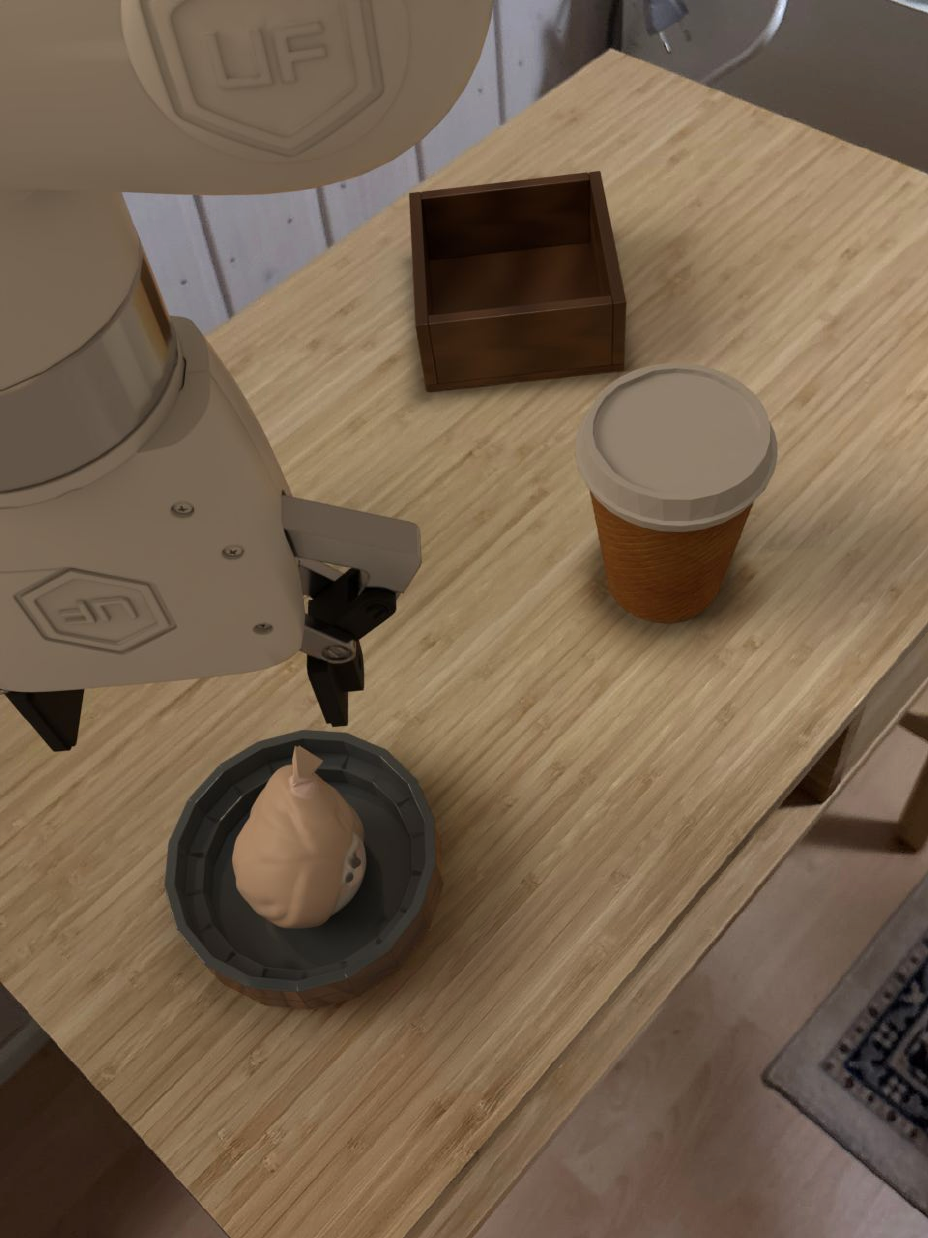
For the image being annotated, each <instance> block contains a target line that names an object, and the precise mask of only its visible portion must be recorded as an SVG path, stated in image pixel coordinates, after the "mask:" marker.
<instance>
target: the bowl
mask: <svg viewBox="0 0 928 1238" xmlns="http://www.w3.org/2000/svg"><path fill="white" fill-rule="evenodd" d="M295 746H297V747H298V746H301V747H302V748H304V749H305V750H307V751H308V752H310V753H312V754H313V755H315V756H316V757H318V758H320V759H321V760H323V762H322V763H321V765H320V766H319V767H318V769H317V770H316V771H315V773H316V774H317V775H318V776H319V777H320V778H321V779H322V780H323V781H325V782H326V783H328V784H329V785H331V786H332V787H333V788H335V789H336V790H337V791H338V792H339V794H340V795H341V796H342V797H343V798H344V799H345V801H346V802H347V803H348V804H349V805H350V806H351V807H352V808H353V809H354V810H355V812H356V813H357V814H358V816H359V818H360V820H361V822H362V824H363V828H364V843H363V844H364V848H365V852H366V869H365V874H364V878H363V880H362V883H361V885H360V887H359V889H358V891H357V892H356V894H355V895H354V897H353V898H352V899H351V900H350V901H349V903H348V904H347V905H346V906H344V907H343V908H342V909H341V910H340V911H338V912H337V913H335V914H333V915H332V916H330V917H329V919H328V920H327V921H326V922H325V923H323V924H322V925H320V926H317V927H312V928H303V929H289V928H282V927H279V926H277V925H275V924H273V923H272V922H270V921H269V920H267V919H266V918H264V917H262V916H261V915H259V914H258V913H257V912H256V911H255V910H254V909H253V908H252V907H251V906H250V904H249V903H248V902H247V901H246V900H245V899H244V898H243V896H242V895H241V894H240V892H239V891H238V889H237V886H236V876H235V873H234V869H233V863H232V856H233V851H234V845H235V841H236V839H237V837H238V835H239V833H240V832H241V830H242V828H243V827H244V825H245V824H246V822H247V821H248V819H249V818H250V814H251V809H252V807H253V805H254V803H255V802H256V800H257V798H258V796H259V795H260V793H261V792H262V790H263V789H264V788H265V786H266V784H267V783H268V781H269V779H270V778H271V777H272V775H273V774H274V773H275V772H276V771H277V770H278V769H280V768H281V767H284V766H287V765H292V758H293V753H294V749H295ZM177 820H178V821H177V823H176V824H175V827H174V829H173V831H172V832H171V836H170V838H169V840H168V843H167V853H166V854H167V855H166V865H165V878H164V891H165V892H164V893H165V895H166V898H167V902H168V905H169V908H170V912H171V916H172V918H173V922H174V926H175V929H176V932H177V933H178V934H179V936H181V938H182V939H183V941H184V942H185V943H186V944H187V945H188V946H189V948H190V949H191V950H192V951H193V953H194V954H195V955H196V956H197V957H198V959H199V960H200V961H201V963H202V964H203V965H204V966H205V967H206V968H207V969H208V970H209V971H210V972H211V974H213V976H215V978H217V980H219V982H220V983H222V984H223V985H224V986H226V987H228V988H230V989H232V990H233V991H236V992H237V993H238V994H241V995H243V996H245V997H247V998H249V999H251V1000H252V1001H255V1002H256V1003H258V1004H260V1005H264V1006H268V1007H277V1008H288V1009H297V1010H306V1011H307V1010H308V1011H310V1010H316V1009H319V1008H322V1007H327V1006H331V1005H335V1004H338V1003H342V1002H346V1001H349V1000H353V999H357V998H360V997H361V996H363V995H364V994H366V993H367V992H369V991H370V990H371V989H373V988H374V987H376V986H377V985H379V984H380V983H383V981H385V980H387V979H388V978H389V977H391V976H392V975H394V974H395V973H397V972H398V971H399V970H400V969H401V968H402V967H403V966H404V964H405V962H407V960H408V959H409V957H410V956H411V955H412V953H413V952H414V950H415V949H416V948H417V947H418V946H419V944H420V942H422V940H423V939H424V938H425V936H426V935H427V933H428V932H429V930H430V929H431V926H432V922H433V920H434V916H435V913H436V909H437V906H438V903H439V900H440V897H441V894H442V891H443V888H444V870H443V851H442V850H443V847H442V841H441V837H440V833H439V829H438V826H437V822H436V819H435V816H434V814H433V812H432V809H431V807H430V805H429V803H428V801H427V798H426V796H425V794H424V791H423V790H422V787H421V785H420V783H419V780H418V779H417V777H416V776H415V775H414V774H413V773H412V772H410V771H409V769H407V767H405V765H404V764H402V763H401V761H399V760H398V759H397V758H396V757H395V756H394V755H393V754H392V753H391V752H390V751H389V750H387V749H386V748H384V747H382V746H379V745H377V744H375V743H372V742H370V741H368V740H365V739H363V738H360V737H358V736H356V735H353V734H352V733H349V732H346V731H345V732H343V731H330V730H329V731H326V730H313V729H312V730H310V729H300V730H296V731H294V732H293V731H292V732H289V733H284V734H281V735H277V736H273V737H269V738H264V739H261V740H258V741H256V742H254V743H253V744H251V745H249V746H248V747H246V748H244V749H243V750H241V751H240V752H237V753H236V754H235V755H233V756H231V757H229V758H228V759H226V760H225V761H223V762H221V763H220V764H219V765H217V766H216V768H215V769H214V770H213V771H212V772H211V773H210V774H209V776H208V777H206V779H205V780H204V781H203V782H202V783H201V784H200V785H199V787H198V788H197V789H196V790H195V791H194V792H193V793H192V794H191V795H190V796H189V797H188V799H187V800H186V802H185V804H184V807H183V809H182V811H181V813H180V816H179V818H178V819H177Z"/></svg>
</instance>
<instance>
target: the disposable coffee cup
mask: <svg viewBox="0 0 928 1238" xmlns="http://www.w3.org/2000/svg"><path fill="white" fill-rule="evenodd" d="M778 454H779V453H778V440H777V436H776V432H775V430H774V427H773V425H772V423H771V421H770V419H769V415H768V413H767V411H766V409H765V407H764V405H763V403H762V402H761V400H760V399H759V398H758V396H757V395H756V394H755V392H754V391H753V390H752V389H750V388H749V387H748V386H746V385H745V384H744V383H742V382H741V381H740V380H739V379H737V378H735V377H734V376H732V375H730V374H728V373H726V372H724V371H721V370H718V369H715V368H712V367H709V366H706V365H700V364H693V363H690V362H689V363H688V362H687V363H686V362H685V363H684V362H668V363H657V364H653V365H647V366H643V367H641V368H640V367H639V368H638V369H634V370H632V371H629V372H628V373H626V374H623V375H621V376H619V377H618V378H617V379H615V380H614V381H612V382H611V383H609V384H608V385H607V386H606V387H605V388H604V389H603V390H602V391H601V392H599V394H597V397H596V398H595V399H594V401H593V402H592V404H591V406H590V408H589V410H588V411H587V412H586V414H585V415H584V416H583V419H582V420H581V422H580V424H579V426H578V429H577V433H576V437H575V444H574V455H575V461H576V465H577V466H576V467H577V470H578V473H579V474H580V476H581V478H582V480H583V482H584V484H585V485H586V488H587V489H588V491H589V494H590V495H589V497H590V499H591V505H592V510H593V515H594V520H595V526H596V530H597V535H598V540H599V546H600V551H601V554H602V556H601V557H602V561H603V565H604V569H605V570H604V571H605V575H606V582H607V587H608V589H609V592H610V594H611V596H612V597H613V599H614V600H615V601H616V602H617V604H618V605H619V606H621V607H622V609H624V610H625V611H626V612H628V613H630V614H631V615H633V616H635V617H637V618H640V619H643V620H645V621H649V622H655V623H669V624H670V623H677V622H682V621H686V620H690V619H691V618H693V617H695V616H697V615H699V614H701V613H703V612H704V611H705V610H707V609H708V608H709V607H710V606H711V604H712V603H713V602H714V601H715V600H716V598H717V596H718V594H719V592H720V589H721V587H722V585H723V581H724V579H725V577H726V574H727V571H728V569H729V567H730V564H731V561H732V559H733V556H734V554H735V551H736V549H737V546H738V544H739V541H740V539H741V536H742V533H743V531H744V529H745V526H746V523H747V522H748V518H749V516H750V513H751V511H752V508H753V506H754V503H755V501H756V500H757V499H758V497H759V496H761V495H762V493H764V492H765V490H766V489H767V487H768V485H769V483H770V481H771V479H772V478H773V475H774V473H775V470H776V466H777V462H778V457H779V455H778Z"/></svg>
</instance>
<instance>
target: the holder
mask: <svg viewBox="0 0 928 1238" xmlns="http://www.w3.org/2000/svg"><path fill="white" fill-rule="evenodd" d="M408 204H409V224H410V225H409V227H410V228H409V229H410V247H411V264H412V266H411V267H412V268H411V269H412V270H411V271H412V281H413V282H412V284H413V285H412V287H413V288H412V289H413V311H414V327H415V333H416V339H417V344H418V351H419V357H420V362H421V368H422V374H423V380H424V386H425V391H426V392H436V391H437V392H438V391H445V390H457V389H465V388H474V387H483V386H493V385H501V384H503V385H504V384H510V383H519V382H520V383H521V382H529V381H530V382H531V381H538V380H548V379H556V378H565V377H576V376H585V375H592V374H593V375H594V374H595V375H596V374H603V373H613V372H621V371H622V372H623V371H625V357H626V356H625V355H626V327H627V297H626V293H625V289H624V288H625V287H624V282H623V278H622V273H621V267H620V263H619V258H618V252H617V248H616V242H615V237H614V232H613V227H612V223H611V222H612V221H611V217H610V211H609V207H608V203H607V197H606V191H605V186H604V181H603V176H602V172H601V170H595V171H589V172H587V171H586V172H578V173H570V174H560V175H551V176H544V177H543V176H542V177H535V178H526V179H525V178H524V179H517V180H508V181H501V182H493V183H484V184H475V185H474V184H473V185H468V186H466V185H465V186H456V187H449V188H442V189H441V188H440V189H439V188H438V189H432V190H423V191H413V192H409V193H408Z"/></svg>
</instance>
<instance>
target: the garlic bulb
mask: <svg viewBox="0 0 928 1238" xmlns="http://www.w3.org/2000/svg"><path fill="white" fill-rule="evenodd" d="M322 762H323V760H321V759H320V758H318V757H316V756H315V755H313V754H312V753H310V752H308V751H307V750H305V749H304V748H302V747H301V746H298V747H297V746H295V749H294V753H293V758H292V765H287V766H284V767H281V768H280V769H278V770H277V771H276V772H275V773H274V774H273V775H272V777H271V778H270V779H269V781H268V783H267V784H266V786H265V788H264V789H263V790H262V792H261V793H260V795H259V796H258V798H257V800H256V802H255V803H254V805H253V807H252V809H251V814H250V818H249V819H248V821H247V822H246V824H245V825H244V827H243V828H242V830H241V832H240V833H239V835H238V837H237V839H236V841H235V845H234V851H233V856H232V863H233V869H234V873H235V876H236V886H237V889H238V891H239V892H240V894H241V895H242V896H243V898H244V899H245V900H246V901H247V902H248V903H249V904H250V906H251V907H252V908H253V909H254V910H255V911H256V912H257V913H258V914H259V915H261V916H262V917H264V918H266V919H267V920H269V921H270V922H272V923H273V924H275V925H277V926H279V927H282V928H289V929H303V928H312V927H317V926H320V925H322V924H323V923H325V922H326V921H327V920H328V919H329V917H330V916H332V915H333V914H335V913H337V912H338V911H340V910H341V909H342V908H343V907H344V906H346V905H347V904H348V903H349V901H350V900H351V899H352V898H353V897H354V895H355V894H356V892H357V891H358V889H359V887H360V885H361V883H362V880H363V878H364V874H365V869H366V852H365V848H364V844H363V843H364V828H363V824H362V822H361V820H360V818H359V816H358V814H357V813H356V812H355V810H354V809H353V808H352V807H351V806H350V805H349V804H348V803H347V802H346V801H345V799H344V798H343V797H342V796H341V795H340V794H339V792H338V791H337V790H336V789H335V788H333V787H332V786H331V785H329V784H328V783H326V782H325V781H323V780H322V779H321V778H320V777H319V776H318V775H317V774H316V773H315V771H316V770H317V769H318V767H319V766H320V765H321V763H322Z"/></svg>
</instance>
